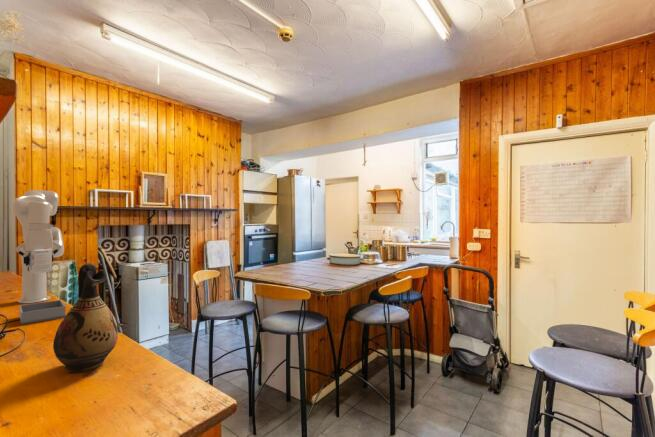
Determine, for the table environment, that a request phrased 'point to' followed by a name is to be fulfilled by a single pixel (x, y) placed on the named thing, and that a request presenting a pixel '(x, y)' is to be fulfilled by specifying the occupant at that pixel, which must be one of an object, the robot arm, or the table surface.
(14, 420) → the table surface
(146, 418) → the table surface
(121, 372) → the table surface
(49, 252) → the light bulb box
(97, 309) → the ceramic jug
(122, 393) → the table surface
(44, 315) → the tray
